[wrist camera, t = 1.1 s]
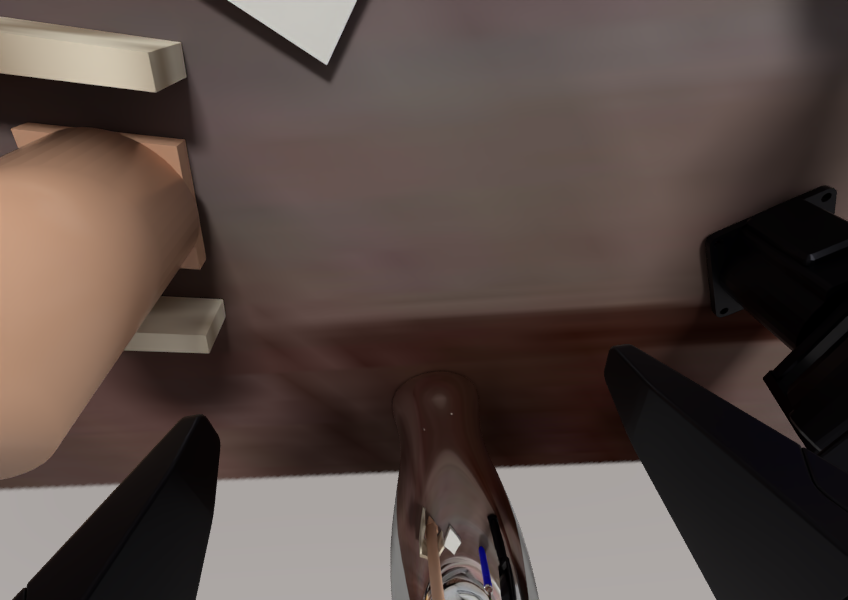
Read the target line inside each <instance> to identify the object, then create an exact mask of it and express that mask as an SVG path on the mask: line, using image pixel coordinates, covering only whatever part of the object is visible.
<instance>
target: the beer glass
mask: <svg viewBox="0 0 848 600" xmlns="http://www.w3.org/2000/svg"><path fill="white" fill-rule="evenodd" d="M392 410H393V415H394V419H395V422H396V426H397V430H398V434H399V439H400V468H399V477H398V484H397V491H396V499H395V507H394V515H393V524H392V536H391V592H392V600H539V597H538V592H537V587H536V583H535V579H534V575H533V571H532V566H531V562H530V558H529V555H528V551H527V548H526V544H525V541H524V538H523V534H522V531H521V528H520V525H519V523H518V520H517V518H516V515H515V513H514V510H513V508H512V505H511V502H510V500H509V498H508V496H507V493H506V491H505V489H504V487H503V484H502V482H501V480H500V478H499V476H498V473H497V471H496V469H495V467H494V465H493V463H492V460H491V458H490V456H489V453H488V451H487V449H486V446H485V443H484V440H483V436H482V432H481V426H480V405H479V395H478V391H477V389H476V387H475V385H474V384H473V383H472V382H471V381H470V380H469V379H467V378H466V377H464V376H462V375H460V374H457V373H453V372H447V371H434V372H427V373H423V374H420V375H417V376H415V377H413V378H411V379H409V380H408V381H406V382H405V383H404V384H402V385H401V386H400V387H399V389H398V390H397V391H396V393H395V395H394V397H393V401H392Z"/></svg>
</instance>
